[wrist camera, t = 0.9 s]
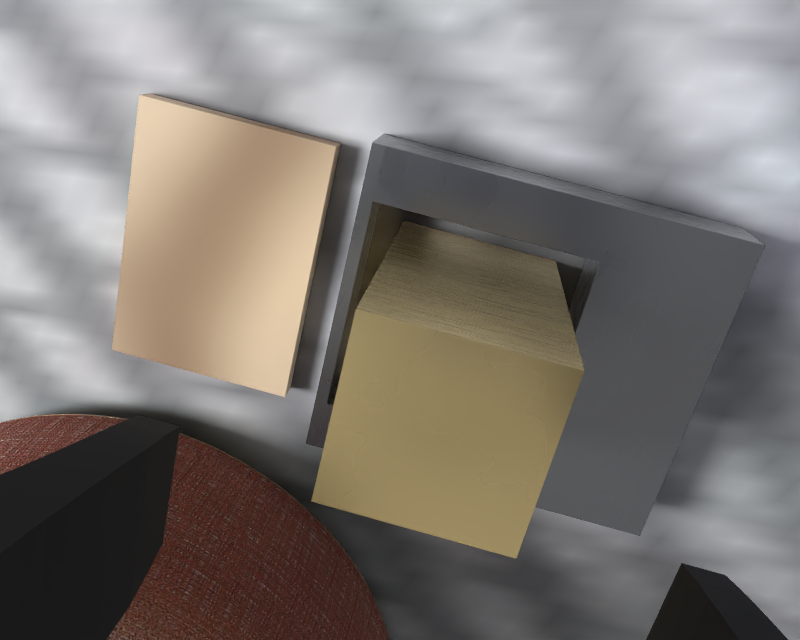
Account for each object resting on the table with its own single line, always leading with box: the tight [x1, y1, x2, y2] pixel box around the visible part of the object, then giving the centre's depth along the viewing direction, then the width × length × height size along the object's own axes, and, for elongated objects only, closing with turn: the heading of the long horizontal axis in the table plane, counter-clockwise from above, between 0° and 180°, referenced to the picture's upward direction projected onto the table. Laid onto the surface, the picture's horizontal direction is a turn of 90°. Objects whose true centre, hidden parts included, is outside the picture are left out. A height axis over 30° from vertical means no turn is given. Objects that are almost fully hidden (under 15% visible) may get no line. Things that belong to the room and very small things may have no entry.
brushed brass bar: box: [311, 221, 584, 559], centre depth 17 cm, size 4×4×7 cm
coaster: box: [112, 93, 341, 397], centre depth 20 cm, size 5×7×1 cm
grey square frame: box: [306, 134, 765, 536], centre depth 19 cm, size 9×8×2 cm
